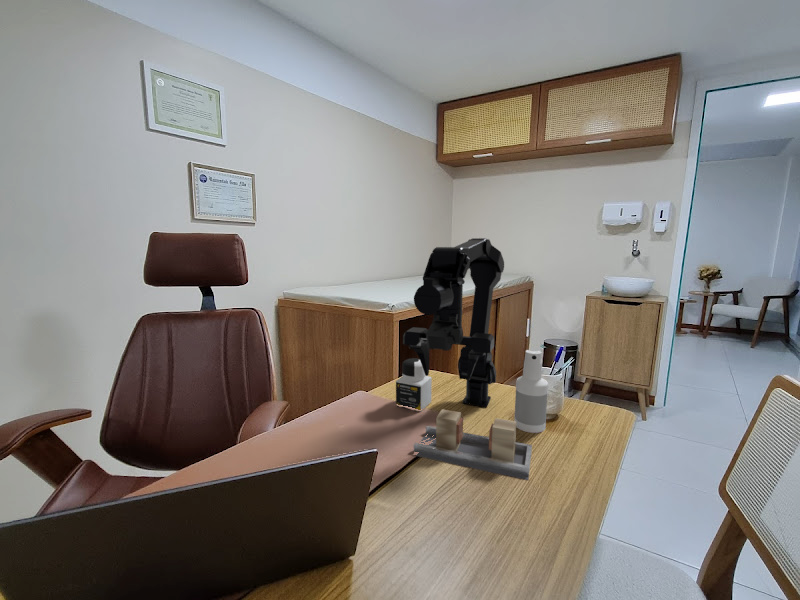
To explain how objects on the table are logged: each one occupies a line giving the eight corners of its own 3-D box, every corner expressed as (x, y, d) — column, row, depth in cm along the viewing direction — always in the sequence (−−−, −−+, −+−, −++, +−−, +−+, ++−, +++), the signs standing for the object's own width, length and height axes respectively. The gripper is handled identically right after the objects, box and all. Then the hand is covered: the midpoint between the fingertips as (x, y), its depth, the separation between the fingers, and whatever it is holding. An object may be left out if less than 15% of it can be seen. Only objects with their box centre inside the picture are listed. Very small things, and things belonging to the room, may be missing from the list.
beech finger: (436, 449, 77) (436, 417, 76) (441, 440, 81) (442, 409, 80) (458, 454, 75) (459, 421, 74) (463, 444, 79) (463, 412, 78)
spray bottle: (515, 432, 85) (518, 355, 82) (513, 419, 92) (516, 346, 89) (547, 436, 83) (552, 357, 81) (543, 422, 90) (547, 348, 87)
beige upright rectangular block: (491, 450, 77) (492, 417, 76) (514, 454, 75) (516, 421, 74) (488, 460, 73) (489, 426, 72) (512, 465, 72) (514, 430, 71)
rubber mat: (428, 431, 86) (428, 429, 86) (531, 451, 77) (531, 449, 77) (411, 457, 76) (411, 454, 75) (528, 482, 67) (528, 480, 67)
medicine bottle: (395, 406, 99) (395, 362, 97) (407, 397, 105) (407, 354, 103) (420, 412, 95) (420, 366, 93) (431, 402, 101) (432, 358, 100)
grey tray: (426, 432, 84) (426, 425, 84) (531, 451, 76) (531, 445, 76) (413, 451, 77) (413, 444, 76) (528, 476, 68) (529, 468, 68)
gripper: (392, 310, 76) (393, 384, 79) (487, 317, 69) (484, 398, 72) (412, 302, 87) (411, 368, 89) (495, 307, 80) (493, 378, 82)
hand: (447, 377), depth 83 cm, fingers open, 9 cm apart
